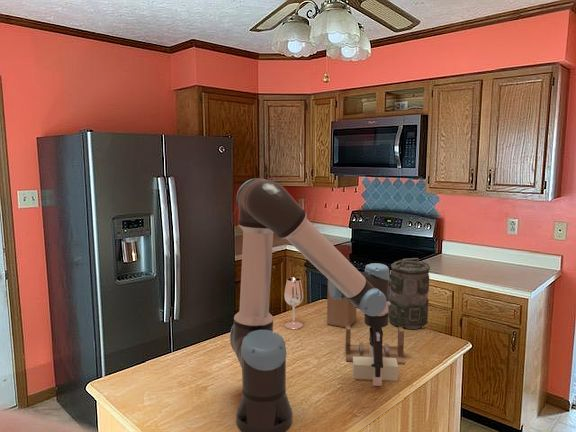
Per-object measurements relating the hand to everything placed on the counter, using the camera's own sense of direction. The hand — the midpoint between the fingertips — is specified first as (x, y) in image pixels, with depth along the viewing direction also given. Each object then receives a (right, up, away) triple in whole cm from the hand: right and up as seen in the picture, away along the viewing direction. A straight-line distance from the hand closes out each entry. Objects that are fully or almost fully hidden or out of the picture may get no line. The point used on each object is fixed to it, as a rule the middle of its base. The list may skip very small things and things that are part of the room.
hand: (375, 374), depth 147 cm
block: (-6, +6, +44) cm, 45 cm away
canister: (+22, +6, +44) cm, 50 cm away
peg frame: (+2, +2, +15) cm, 15 cm away
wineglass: (-26, +6, +41) cm, 49 cm away
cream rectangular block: (0, 0, 0) cm, 0 cm away
